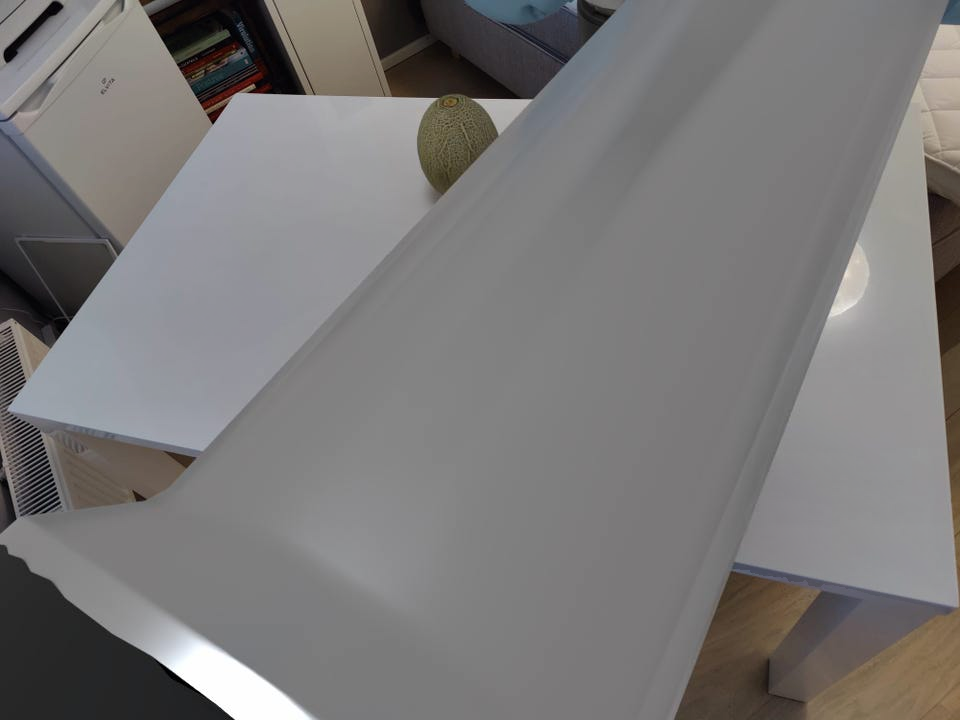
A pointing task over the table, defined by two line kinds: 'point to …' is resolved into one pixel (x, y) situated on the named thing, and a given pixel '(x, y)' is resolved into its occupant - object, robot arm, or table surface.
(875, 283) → the table surface
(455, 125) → the fruit
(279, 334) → the table surface
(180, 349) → the table surface
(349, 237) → the table surface
